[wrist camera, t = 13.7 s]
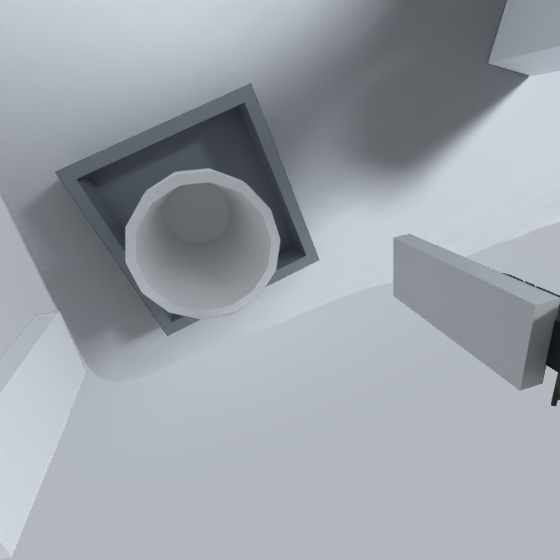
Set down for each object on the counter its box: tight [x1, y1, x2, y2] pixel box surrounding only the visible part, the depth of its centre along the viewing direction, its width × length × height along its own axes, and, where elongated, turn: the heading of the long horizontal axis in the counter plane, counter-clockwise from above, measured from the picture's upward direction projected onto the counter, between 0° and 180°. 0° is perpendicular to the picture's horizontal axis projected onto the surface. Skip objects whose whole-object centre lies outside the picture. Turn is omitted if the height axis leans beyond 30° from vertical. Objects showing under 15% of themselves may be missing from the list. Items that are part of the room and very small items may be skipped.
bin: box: [55, 84, 319, 336], centre depth 32 cm, size 16×16×5 cm
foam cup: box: [125, 168, 280, 319], centre depth 28 cm, size 10×9×13 cm
